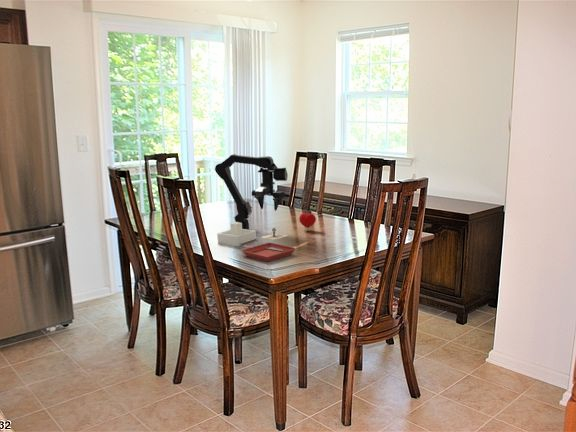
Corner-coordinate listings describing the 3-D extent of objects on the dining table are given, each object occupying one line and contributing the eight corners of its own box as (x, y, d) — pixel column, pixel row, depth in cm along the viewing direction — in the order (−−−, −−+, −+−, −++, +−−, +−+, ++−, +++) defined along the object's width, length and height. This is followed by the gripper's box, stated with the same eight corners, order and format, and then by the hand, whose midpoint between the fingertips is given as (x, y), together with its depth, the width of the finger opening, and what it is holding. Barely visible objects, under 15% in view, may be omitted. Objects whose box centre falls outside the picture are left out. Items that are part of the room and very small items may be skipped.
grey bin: (217, 242, 282) (217, 233, 281) (236, 237, 292) (235, 227, 291) (238, 246, 274) (237, 236, 273) (256, 240, 284) (255, 230, 283)
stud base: (260, 239, 287) (260, 229, 286) (272, 235, 294) (272, 225, 293) (276, 241, 281) (275, 231, 280) (287, 237, 289) (287, 227, 288)
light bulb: (318, 231, 300) (318, 212, 298) (312, 234, 294) (312, 215, 292) (303, 229, 304) (302, 211, 302) (296, 232, 299) (296, 214, 296)
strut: (231, 240, 282) (230, 223, 281) (236, 239, 286) (235, 221, 284) (237, 241, 280) (236, 224, 278) (242, 240, 283) (241, 222, 281)
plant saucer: (240, 256, 258) (240, 249, 257) (269, 248, 270) (269, 241, 269) (267, 264, 245) (267, 256, 244) (296, 255, 257) (296, 248, 257)
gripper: (244, 181, 295) (245, 210, 299) (272, 184, 284) (273, 214, 288) (257, 178, 304) (258, 207, 307) (285, 181, 293) (286, 210, 296)
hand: (268, 209), depth 299 cm, fingers open, 9 cm apart
